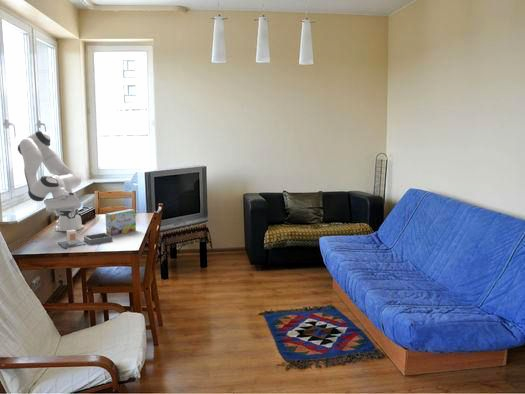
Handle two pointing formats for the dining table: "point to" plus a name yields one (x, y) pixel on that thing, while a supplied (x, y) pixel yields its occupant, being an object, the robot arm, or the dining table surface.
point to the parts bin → (97, 238)
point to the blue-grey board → (66, 245)
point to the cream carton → (71, 237)
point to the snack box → (120, 222)
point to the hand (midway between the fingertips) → (66, 214)
